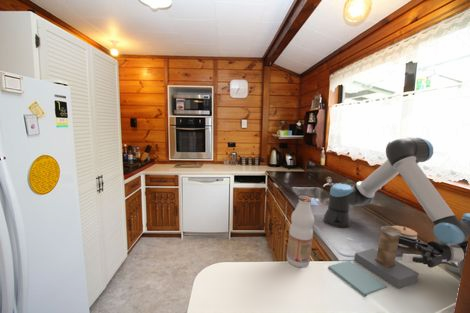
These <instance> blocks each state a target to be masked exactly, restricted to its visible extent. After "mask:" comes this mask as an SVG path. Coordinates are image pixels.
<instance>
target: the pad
mask: <svg viewBox="0 0 470 313" xmlns="http://www.w3.org/2000/svg"><path fill="white" fill-rule="evenodd" d="M327 267H328V270H329V271H331V272H333V274H335V275H336V276H337V277H338V278H340V279H341V280H342V281H343V282H345V283H346V284H348V285H349V286H350V287H351V288H353V289H354V290H355V291H357V292H358V293H359V294H361V295H362V296H363V297H367V296H368V295H370V294H372V293H375V292H377V291H380V290H383V289H386V288H387V287H388V285H386V284H385V283H383V282H382V281H381V280H380V279H378V278H376V277H375V276H373V275H371V274H370V273H369V272H367V271H366V270H364V269H363V268H361V267H359V266H358V265H357V264H355V263H354V262H352V261H350V260H347V261H346V260H345V261H343V262H338V263H335V264H331V265H328V266H327Z"/></svg>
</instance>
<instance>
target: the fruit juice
mask: <svg viewBox="0 0 470 313" xmlns="http://www.w3.org/2000/svg"><path fill="white" fill-rule="evenodd" d="M311 203H312V197H310V196H307V195H299V196H298V203H297V204H296V207H295V209H294V210H293V211H292V212H291V215H290V216H291V217H290V218H291V224H290V226H289V231H288V241H287V249H286V261H288V263H289V264H290V265H291V266H294V267H296V268H307V267H308V266H309V264H310V262H311V254H312V245H313V239H314V238H313V236H314V229H313V226H314V224H315V215H314V214H313V210H312V207H311Z"/></svg>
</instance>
